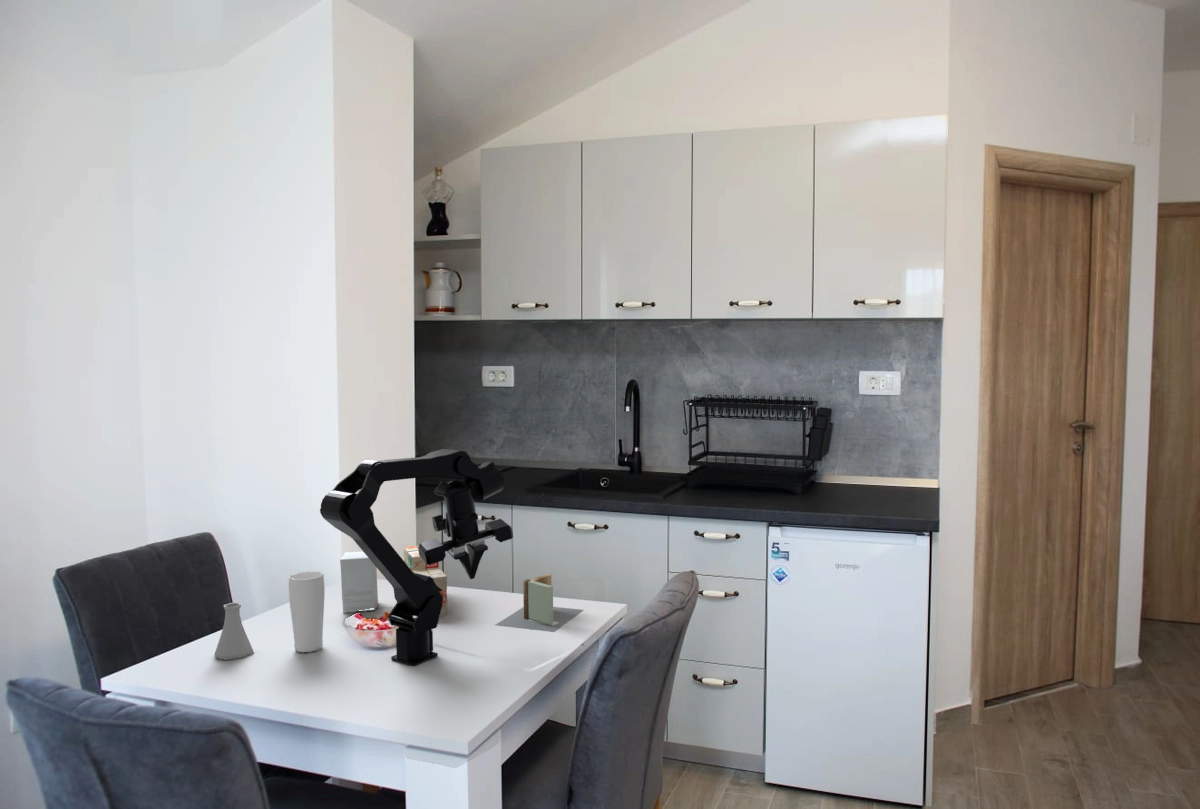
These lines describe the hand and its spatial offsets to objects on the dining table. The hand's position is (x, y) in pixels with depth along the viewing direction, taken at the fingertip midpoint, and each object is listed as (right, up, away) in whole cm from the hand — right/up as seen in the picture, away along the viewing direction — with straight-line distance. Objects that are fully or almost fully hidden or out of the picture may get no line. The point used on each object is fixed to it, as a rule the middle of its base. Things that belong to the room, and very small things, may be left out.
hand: (471, 578), depth 176 cm
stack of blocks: (-14, -11, +23) cm, 29 cm away
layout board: (+13, -11, +11) cm, 20 cm away
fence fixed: (+13, -11, +13) cm, 21 cm away
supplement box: (-29, -11, +21) cm, 38 cm away
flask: (-46, -14, -9) cm, 48 cm away
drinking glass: (-32, -13, -6) cm, 35 cm away
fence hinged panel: (+14, -11, +7) cm, 19 cm away
